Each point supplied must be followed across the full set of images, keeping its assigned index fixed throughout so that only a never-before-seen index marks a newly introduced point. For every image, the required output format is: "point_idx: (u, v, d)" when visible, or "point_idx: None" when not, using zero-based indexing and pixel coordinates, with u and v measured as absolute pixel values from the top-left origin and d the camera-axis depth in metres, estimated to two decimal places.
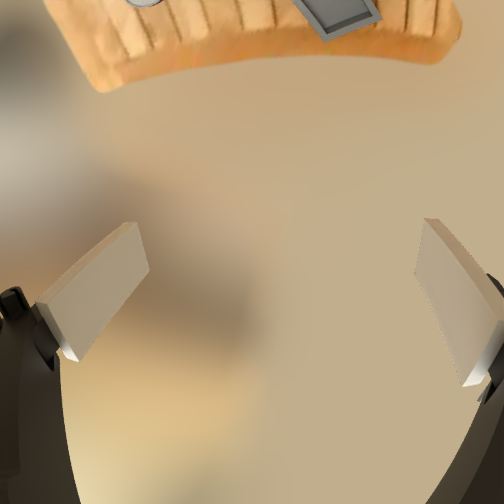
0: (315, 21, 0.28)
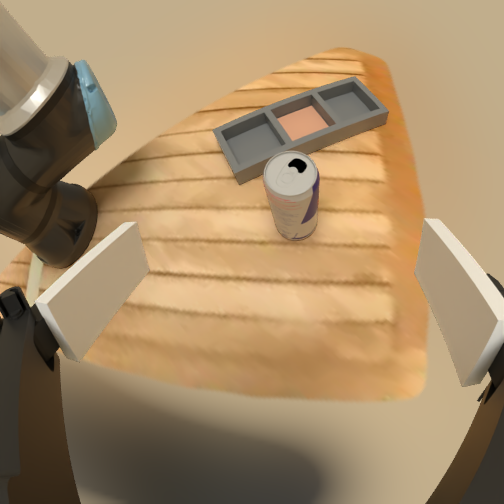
0: (368, 113, 0.37)
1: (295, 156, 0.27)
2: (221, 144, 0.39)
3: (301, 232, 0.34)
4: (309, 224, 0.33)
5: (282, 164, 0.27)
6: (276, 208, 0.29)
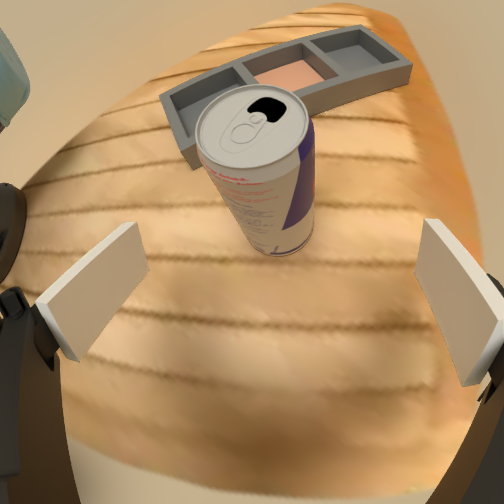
0: (384, 65, 0.22)
1: (263, 94, 0.12)
2: (167, 112, 0.25)
3: (285, 243, 0.19)
4: (299, 229, 0.18)
5: (235, 109, 0.12)
6: (229, 200, 0.14)
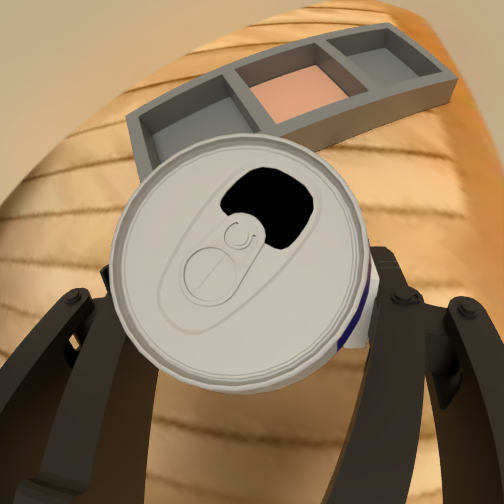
0: (425, 77, 0.16)
1: (258, 158, 0.06)
2: (133, 141, 0.18)
3: None
4: None
5: (194, 201, 0.06)
6: None
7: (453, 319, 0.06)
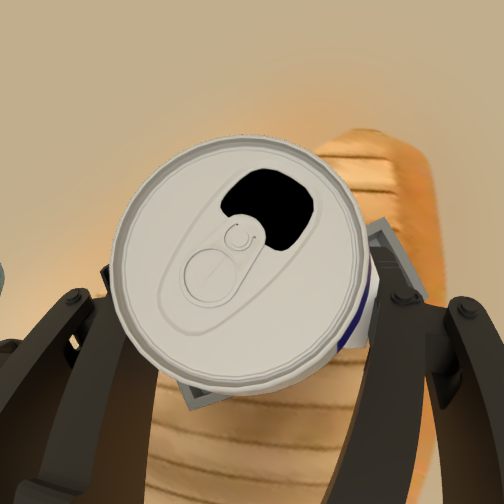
0: None
1: (258, 160, 0.06)
2: None
3: None
4: None
5: (195, 203, 0.06)
6: None
7: (453, 319, 0.06)
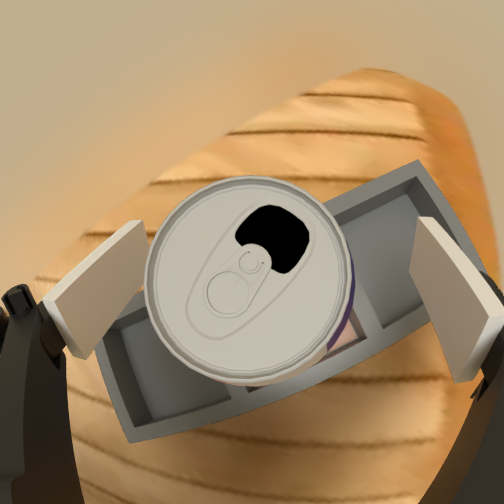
0: None
1: (265, 197, 0.07)
2: (101, 365, 0.17)
3: None
4: None
5: (213, 233, 0.07)
6: None
7: None
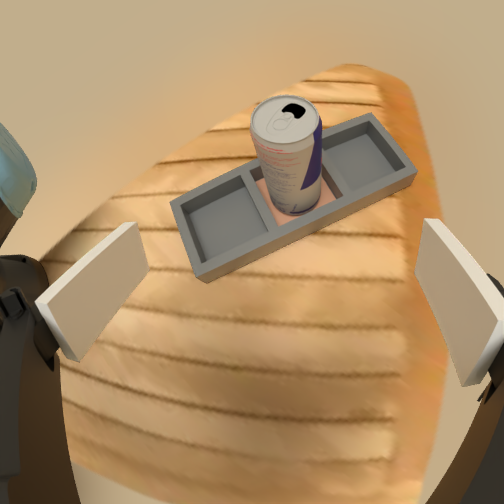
0: (389, 176, 0.27)
1: (290, 101, 0.20)
2: (180, 227, 0.29)
3: (301, 203, 0.27)
4: (311, 192, 0.26)
5: (274, 110, 0.20)
6: (268, 166, 0.22)
7: None
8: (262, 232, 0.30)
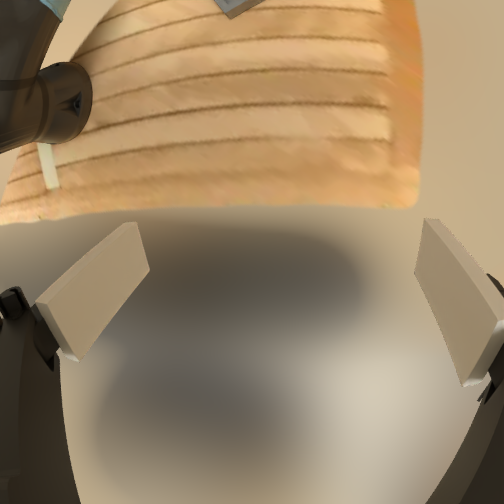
0: None
1: None
2: None
3: None
4: None
5: None
6: None
7: None
8: None
